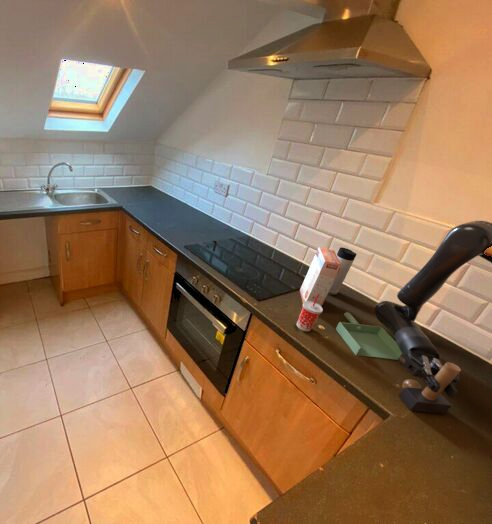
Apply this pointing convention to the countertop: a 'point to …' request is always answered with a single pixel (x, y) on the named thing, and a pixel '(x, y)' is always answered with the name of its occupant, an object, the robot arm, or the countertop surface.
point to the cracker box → (320, 276)
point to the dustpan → (368, 339)
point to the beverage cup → (309, 315)
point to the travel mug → (342, 268)
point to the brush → (431, 393)
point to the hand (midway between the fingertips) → (445, 392)
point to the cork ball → (411, 384)
